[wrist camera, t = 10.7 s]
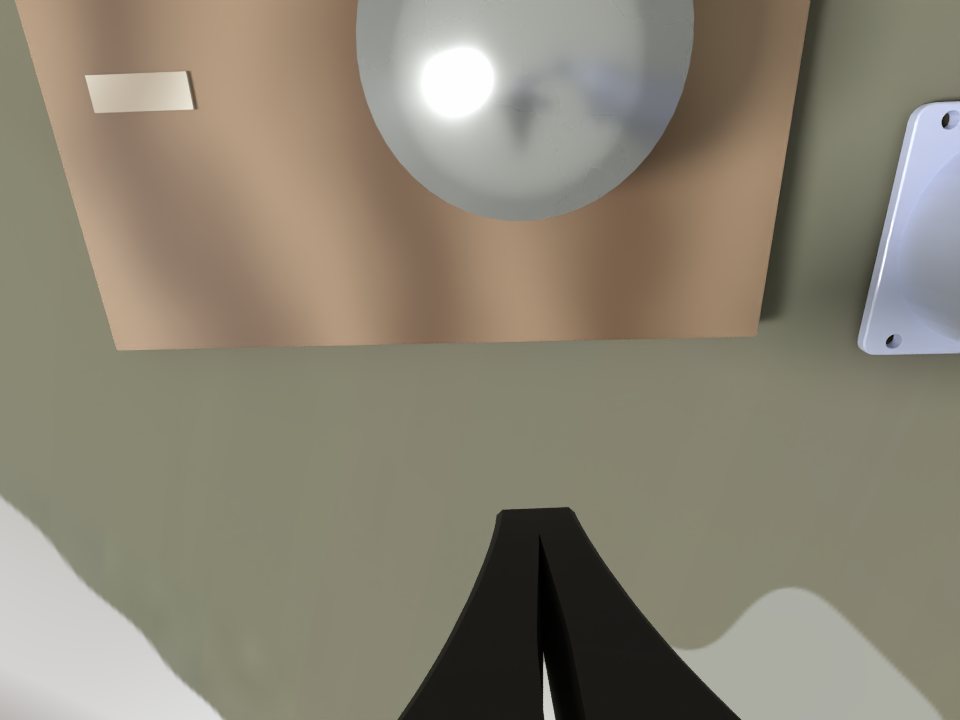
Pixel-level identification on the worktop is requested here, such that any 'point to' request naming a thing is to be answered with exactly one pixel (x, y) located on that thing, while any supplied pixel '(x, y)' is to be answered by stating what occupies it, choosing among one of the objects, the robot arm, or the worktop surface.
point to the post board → (388, 188)
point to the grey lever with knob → (522, 94)
